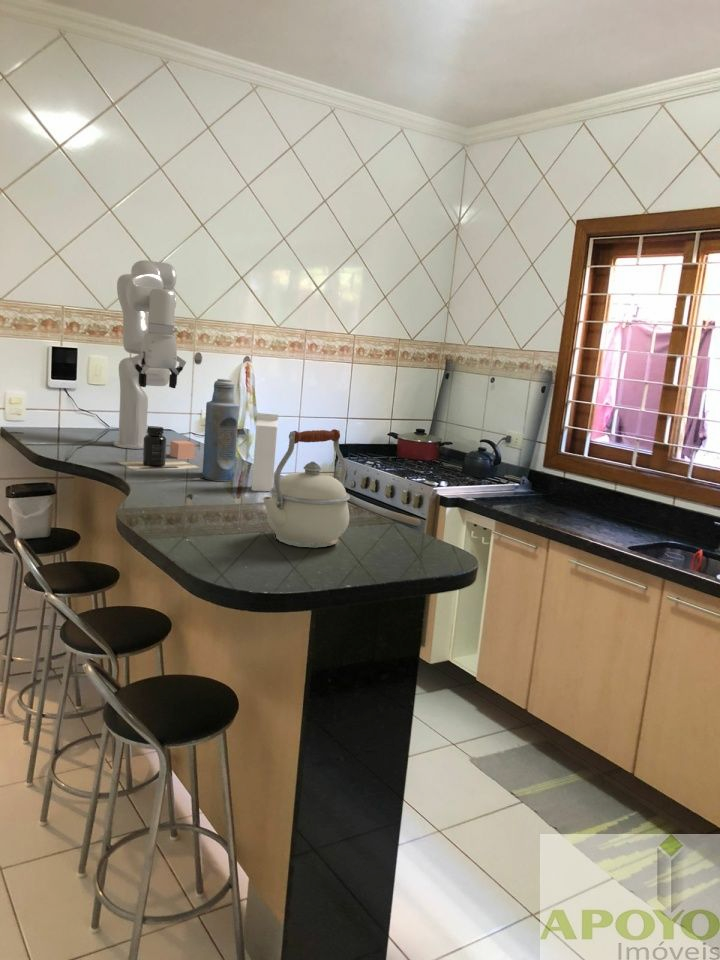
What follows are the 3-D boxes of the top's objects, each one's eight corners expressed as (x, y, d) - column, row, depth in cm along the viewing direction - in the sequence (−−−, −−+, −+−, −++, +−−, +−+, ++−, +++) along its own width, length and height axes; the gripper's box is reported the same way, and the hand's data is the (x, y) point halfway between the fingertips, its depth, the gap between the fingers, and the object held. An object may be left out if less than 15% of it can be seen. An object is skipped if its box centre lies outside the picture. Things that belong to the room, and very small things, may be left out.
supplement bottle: (168, 464, 242) (170, 427, 240) (160, 468, 235) (162, 429, 233) (147, 462, 243) (149, 424, 240) (139, 465, 236) (140, 426, 234)
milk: (272, 492, 220) (278, 416, 216) (251, 490, 220) (256, 414, 215) (272, 488, 226) (278, 413, 222) (252, 486, 226) (257, 411, 221)
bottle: (211, 482, 226) (218, 380, 220) (196, 475, 233) (202, 376, 228) (240, 481, 232) (247, 381, 226) (223, 474, 239) (230, 378, 234)
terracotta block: (169, 458, 259) (170, 440, 258) (185, 457, 263) (186, 440, 262) (177, 461, 255) (178, 443, 254) (193, 461, 259) (195, 443, 257)
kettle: (309, 525, 186) (318, 423, 181) (368, 543, 175) (379, 434, 170) (231, 539, 167) (238, 425, 162) (291, 560, 155) (301, 438, 151)
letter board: (116, 464, 238) (117, 461, 238) (181, 462, 252) (181, 460, 252) (135, 473, 228) (135, 470, 228) (202, 470, 242) (202, 468, 242)
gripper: (181, 332, 240) (178, 386, 243) (128, 327, 229) (125, 384, 232) (192, 333, 234) (189, 389, 237) (138, 329, 223) (135, 387, 226)
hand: (157, 387), depth 235 cm, fingers open, 9 cm apart
